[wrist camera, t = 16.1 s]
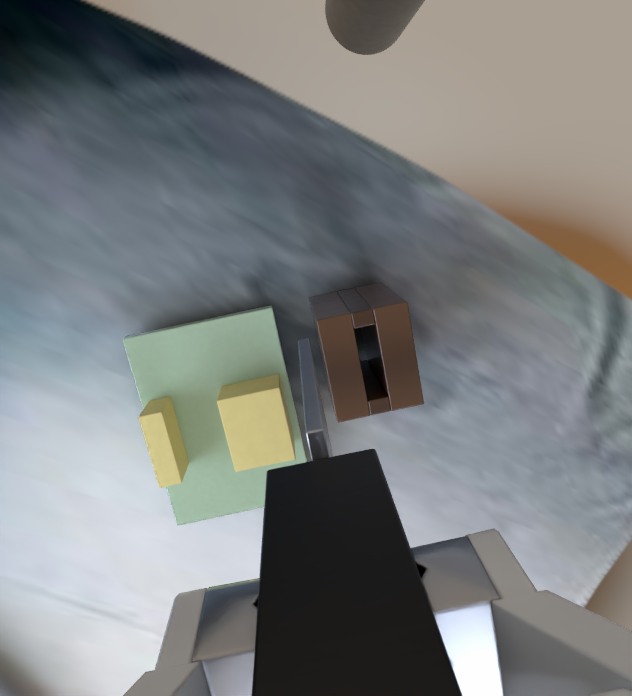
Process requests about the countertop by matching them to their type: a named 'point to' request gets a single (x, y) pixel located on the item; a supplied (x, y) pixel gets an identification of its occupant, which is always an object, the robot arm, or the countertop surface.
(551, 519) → the countertop surface
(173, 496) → the butter dish
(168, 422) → the butter slice
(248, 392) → the butter block
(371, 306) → the knife block
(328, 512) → the knife
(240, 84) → the countertop surface
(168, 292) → the countertop surface
